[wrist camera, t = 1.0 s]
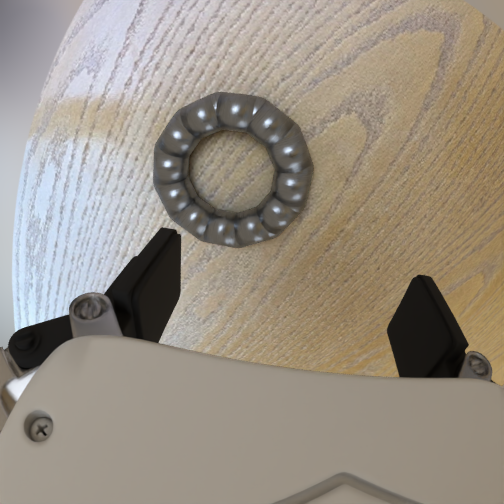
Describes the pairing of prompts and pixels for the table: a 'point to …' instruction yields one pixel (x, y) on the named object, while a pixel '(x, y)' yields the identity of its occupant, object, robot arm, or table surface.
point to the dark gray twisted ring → (261, 129)
